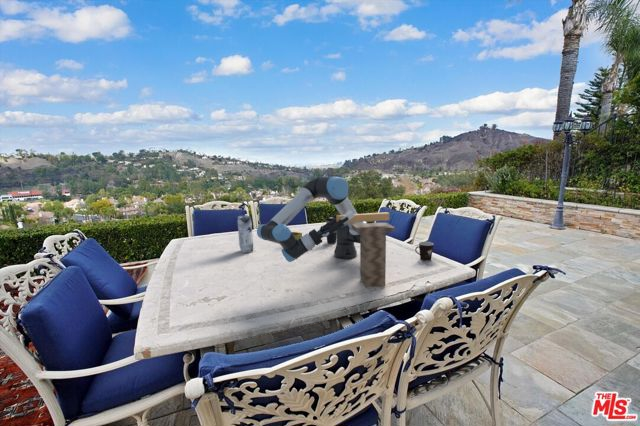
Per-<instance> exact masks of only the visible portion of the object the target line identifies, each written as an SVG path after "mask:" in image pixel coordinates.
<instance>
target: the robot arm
mask: <svg viewBox="0 0 640 426" xmlns="http://www.w3.org/2000/svg"><path fill="white" fill-rule="evenodd" d="M345 179H346V178H345ZM345 179H344V178H343V177H340V176H336V175H335V176H321V175H320V176H316V177H314V178H312V179H310V180H308V181H307V182H306V183H304V185H302V186H301V187H300V188H299V190H298V193H297V194H295V196H294V197H293V198H291V200H290V201H288V203H287V204H285V205H284V207H282V208H281V210H280V211H278V212H277V213H276V214H275V215H274V216H273V217H272V218H271V219H270V220H269V221H268V222H267V223H264V224H263V223H262V224H260V225H259V226H258V227H257V228H256V229H257V230H256V235H257V237H258V238H259V239H260V240H261V239H262V240H263V241H267V242H271V243H275V244H279V245H280V246H281V247H282V249H281V254H282V255H283V257H284V259H285V260H286V262H288V263H291V262H293V261H296V260H298V258H300V257H302V256H303V255H304V254H306V253H308V252H309V251H312V250H313V249H314V248H315V247H316V246H318V245H320V244H321V243H323V238H325V237H326V238H327V237H328V236H330V235H331V234H332V233H334V232H335V231H336V243H335V245H336V246H335V248H334V251H333V256H334V257H335V258H337V259H344V260H345V259H346V260H348V259H355V258H356V257H357V256H358V254H357V253H358V252H357V249H356V246H355V244H360V234H358V233H357V232H356V231H355V230H354V229H353V228H352V224H366V223H367V222H353V223H346V222H347V221H349V220H350V219H352V218H353V217H355V216H354V214H359V213H358V212H357V211H356V209H355V207H354V205H353V204H352V202H351V200H350V199H349V198H348V195H349V185H348V182H347V180H345ZM318 198H324V199H326V200H327V202H328V203H329V204H330V205H332V206H334V207H335V209H336V210H337V212H338V213H339V215H346V216H344V217H343V218H341V220H339V221H338V222H336V218H335V219H333V220H332V221H330V222H328V223H327V224H326V223H325V224H323V225H321V226H320V227H319V229H318V230H316V229H315V228H313V229H312V230H310V231H309V232H308V233H305V234H304V235H302V237H301V238H299V239H298V240H297V239H296V238H295V237H294V235H293V234H292V232H293V231H291V229H290V228H289V227H288V226H287V225H288V224H289V223H290V222H291V221H292V220H293V219H294V218H295V217H297V215H298V214H299V213H300V212H301V211H302V210H303V209H304V208H305V206H307V205H308V203H311V202H313V201H314V200H315V199H318Z"/></svg>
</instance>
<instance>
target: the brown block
mask: <svg viewBox="0 0 640 426" xmlns="http://www.w3.org/2000/svg"><path fill="white" fill-rule="evenodd" d="M344 216H346V215H341V214H337V215H335V217H336V222H338V221H339V220H341V218H343V217H344ZM354 216H355V217H353V218H352V219H350V220H349V221H347V222H346V223H353V222H366V223H367V222H368V223H369V222H381V221H382V222H383V221H390V212H388V211H385V212H382V211H381V212H369V213H365V212H364V213H358V214H354Z"/></svg>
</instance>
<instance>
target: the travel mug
mask: <svg viewBox="0 0 640 426" xmlns="http://www.w3.org/2000/svg"><path fill="white" fill-rule="evenodd" d="M335 218H336V216H330V215H329V216H326V218H325V220H326V221H325V224H327V223H328V222H330V221H332V220H333V219H335ZM326 243H327V244H329V245H334V244H335V245H336V244H337V239H336V231H335V232H334V233H332V234H331V235H330V236H328V237H326Z"/></svg>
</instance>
